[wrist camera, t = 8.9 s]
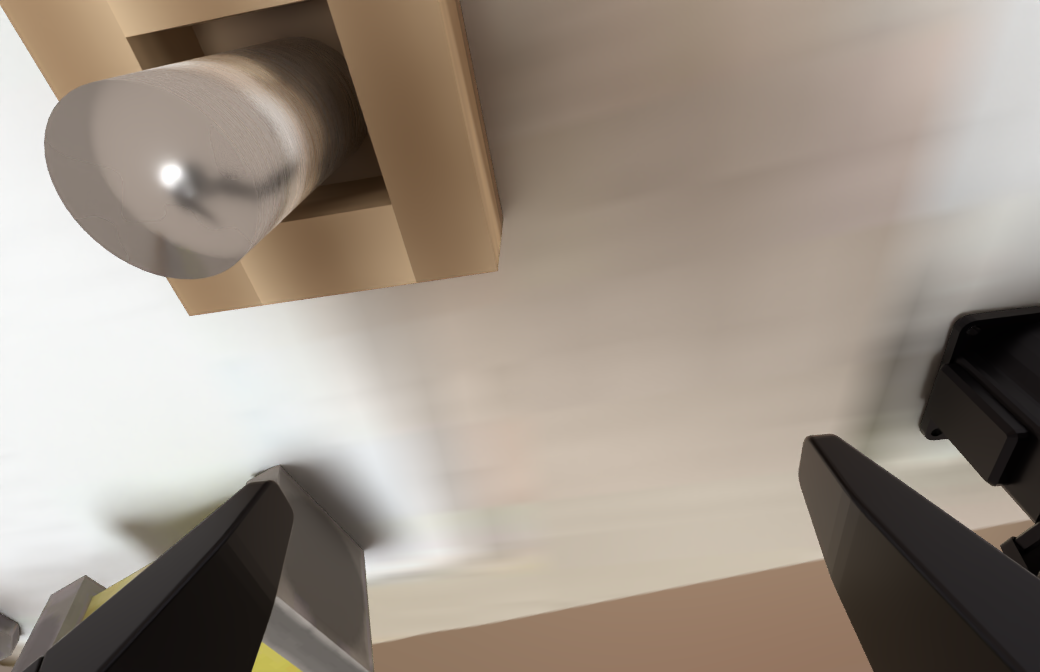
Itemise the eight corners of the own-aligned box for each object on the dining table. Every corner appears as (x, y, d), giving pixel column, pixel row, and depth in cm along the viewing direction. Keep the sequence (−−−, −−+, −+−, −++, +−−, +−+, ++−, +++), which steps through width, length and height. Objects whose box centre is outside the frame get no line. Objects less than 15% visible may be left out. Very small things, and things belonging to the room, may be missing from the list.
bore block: (430, -146, 14) (399, -178, 11) (503, 218, 20) (497, 271, 16) (81, -64, 15) (-45, -70, 12) (244, 259, 21) (189, 316, 17)
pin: (344, 24, 15) (194, 59, 9) (385, 153, 17) (288, 263, 10) (227, 50, 16) (-3, 103, 9) (279, 173, 18) (121, 291, 11)
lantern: (289, 374, 35) (-150, 623, 33) (266, 587, 21) (-521, 1055, 19) (355, 451, 39) (-34, 678, 37) (374, 675, 25) (-264, 1070, 23)
